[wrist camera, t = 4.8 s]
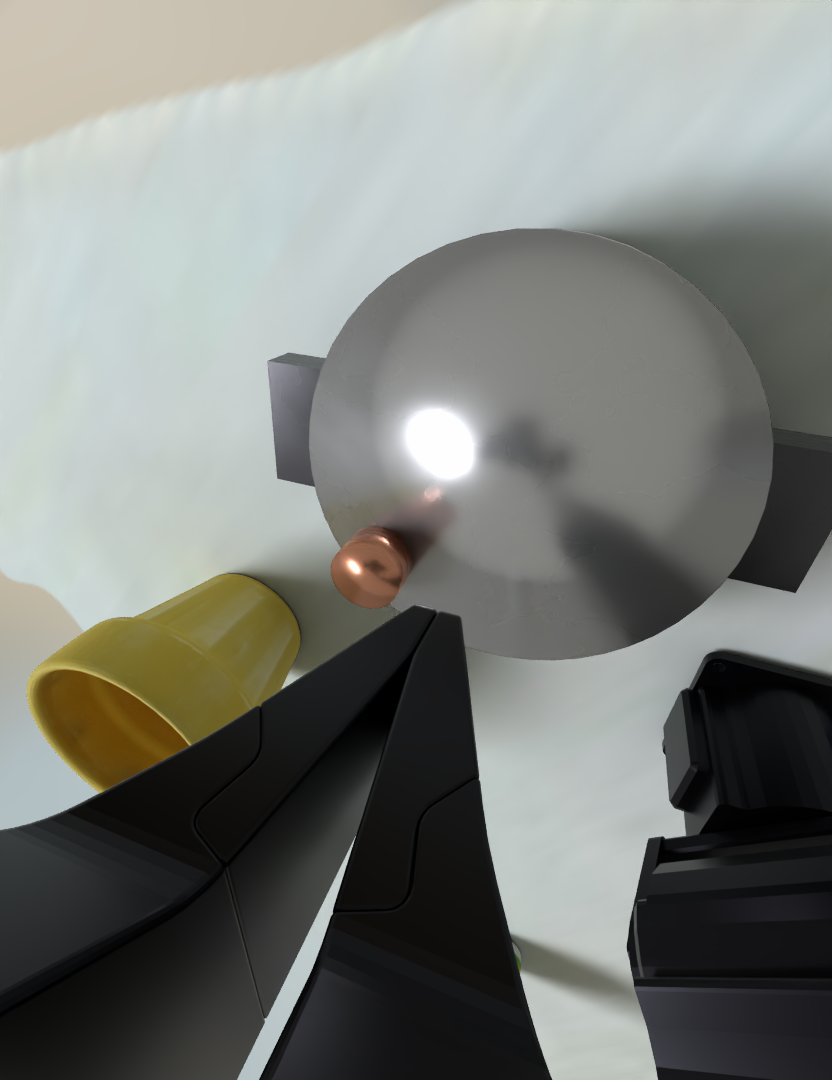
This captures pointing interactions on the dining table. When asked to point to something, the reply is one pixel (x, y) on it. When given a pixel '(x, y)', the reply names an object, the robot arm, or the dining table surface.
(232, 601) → the plant pot
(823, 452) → the cooker pot
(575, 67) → the dining table surface
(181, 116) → the dining table surface
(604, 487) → the cooker lid
